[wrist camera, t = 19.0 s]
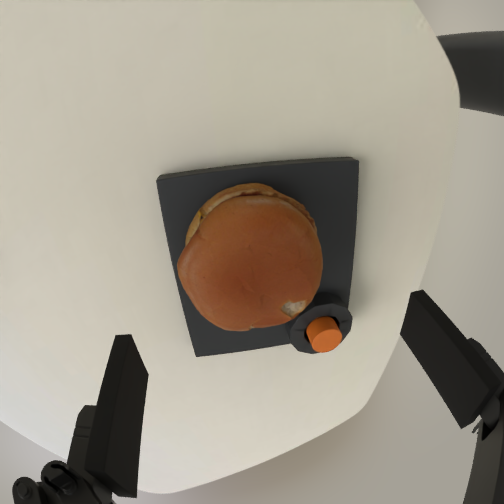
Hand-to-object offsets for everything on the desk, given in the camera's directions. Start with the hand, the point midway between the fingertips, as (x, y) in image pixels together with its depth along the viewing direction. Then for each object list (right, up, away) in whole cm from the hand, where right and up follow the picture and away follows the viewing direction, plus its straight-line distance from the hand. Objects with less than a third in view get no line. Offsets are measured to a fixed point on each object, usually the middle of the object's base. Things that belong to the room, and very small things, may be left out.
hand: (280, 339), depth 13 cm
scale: (0, +3, +11) cm, 12 cm away
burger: (-1, +4, +9) cm, 10 cm away
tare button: (+5, -2, +12) cm, 13 cm away
